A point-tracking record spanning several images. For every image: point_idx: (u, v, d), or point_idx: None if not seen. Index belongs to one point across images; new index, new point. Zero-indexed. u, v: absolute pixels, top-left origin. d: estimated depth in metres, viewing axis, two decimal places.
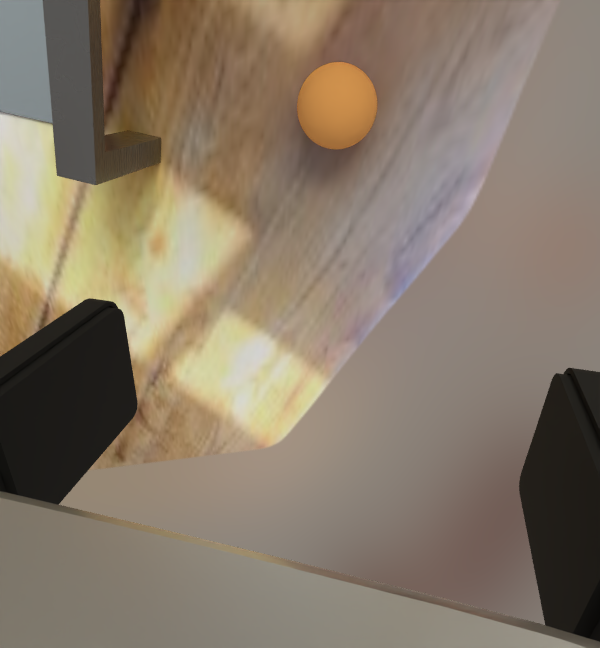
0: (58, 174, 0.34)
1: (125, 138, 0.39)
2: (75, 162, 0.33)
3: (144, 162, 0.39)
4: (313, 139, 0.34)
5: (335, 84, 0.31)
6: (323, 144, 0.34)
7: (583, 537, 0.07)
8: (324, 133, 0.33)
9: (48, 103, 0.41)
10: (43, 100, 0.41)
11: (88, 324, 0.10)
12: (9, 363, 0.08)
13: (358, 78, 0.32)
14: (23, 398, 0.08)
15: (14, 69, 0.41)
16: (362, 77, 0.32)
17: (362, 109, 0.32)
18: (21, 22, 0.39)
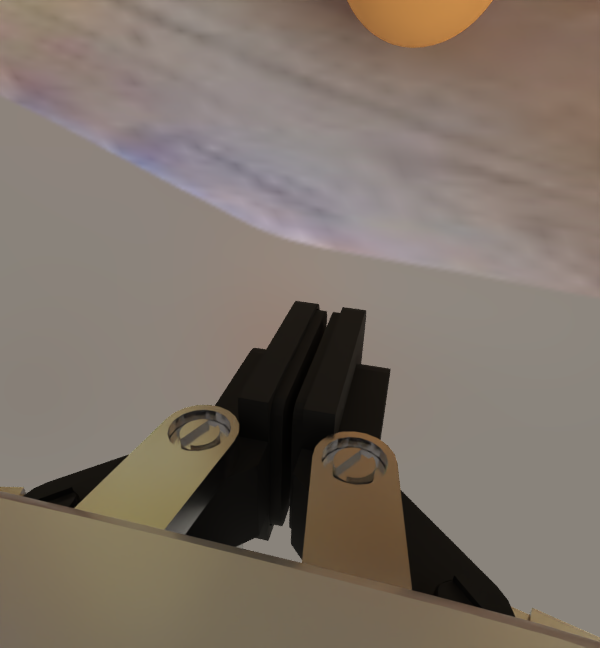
0: None
1: None
2: None
3: None
4: None
5: None
6: None
7: None
8: None
9: None
10: None
11: (312, 326, 0.10)
12: (274, 365, 0.09)
13: None
14: (292, 399, 0.08)
15: None
16: None
17: (423, 17, 0.15)
18: None
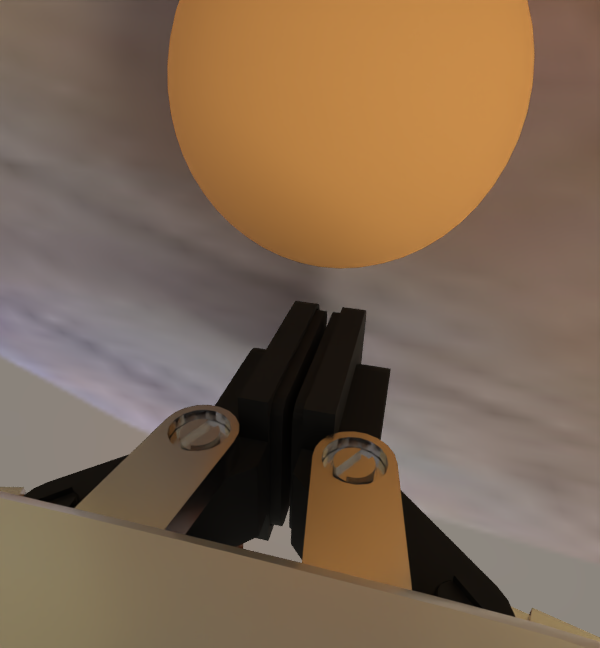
0: None
1: None
2: None
3: None
4: (178, 8, 0.07)
5: (441, 115, 0.06)
6: (168, 71, 0.07)
7: None
8: (196, 87, 0.06)
9: None
10: None
11: (312, 326, 0.10)
12: (274, 365, 0.09)
13: (464, 207, 0.07)
14: (292, 399, 0.08)
15: None
16: (464, 215, 0.07)
17: (334, 253, 0.07)
18: None
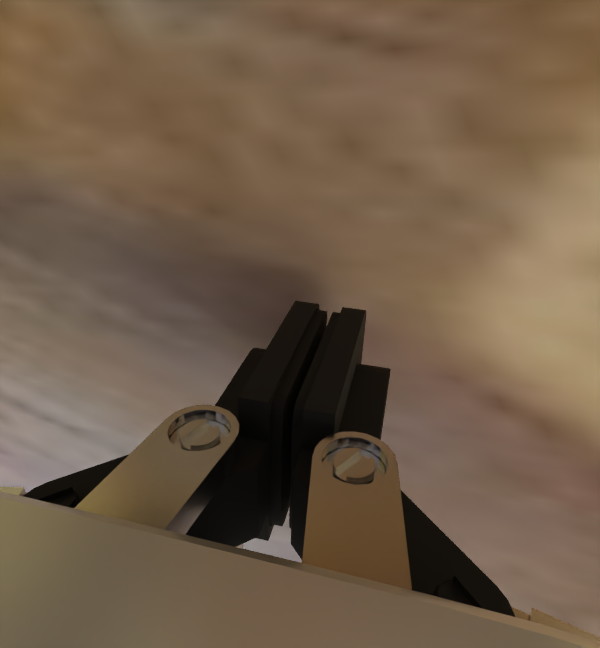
0: None
1: None
2: None
3: None
4: None
5: None
6: None
7: None
8: None
9: None
10: None
11: (312, 326, 0.10)
12: (274, 364, 0.09)
13: None
14: (292, 399, 0.08)
15: None
16: None
17: None
18: None
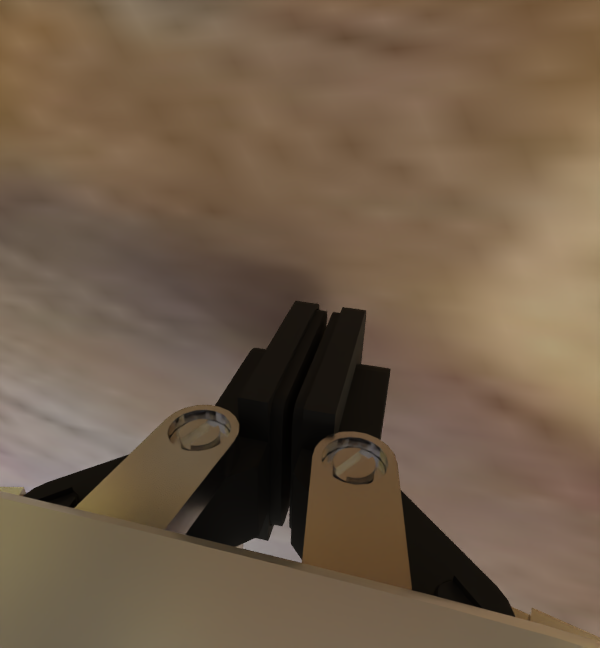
0: None
1: None
2: None
3: None
4: None
5: None
6: None
7: None
8: None
9: None
10: None
11: (312, 326, 0.10)
12: (274, 364, 0.09)
13: None
14: (292, 399, 0.08)
15: None
16: None
17: None
18: None
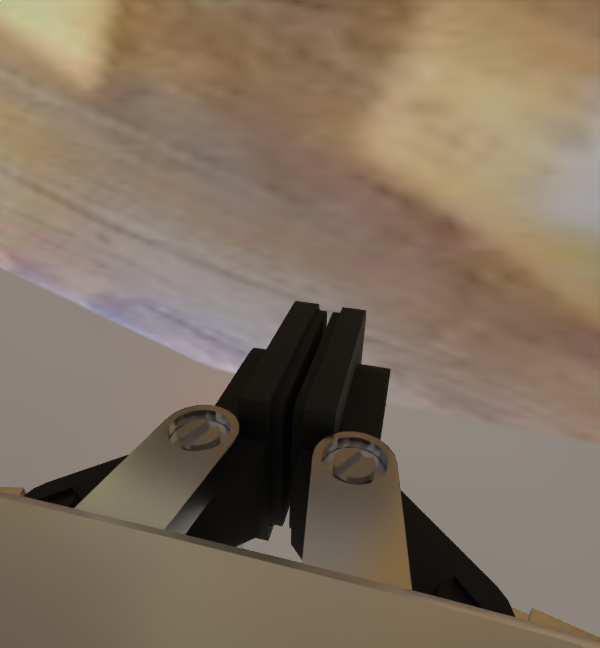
0: None
1: None
2: None
3: None
4: None
5: None
6: None
7: None
8: None
9: None
10: None
11: (312, 326, 0.10)
12: (274, 364, 0.09)
13: None
14: (292, 399, 0.08)
15: None
16: None
17: None
18: None
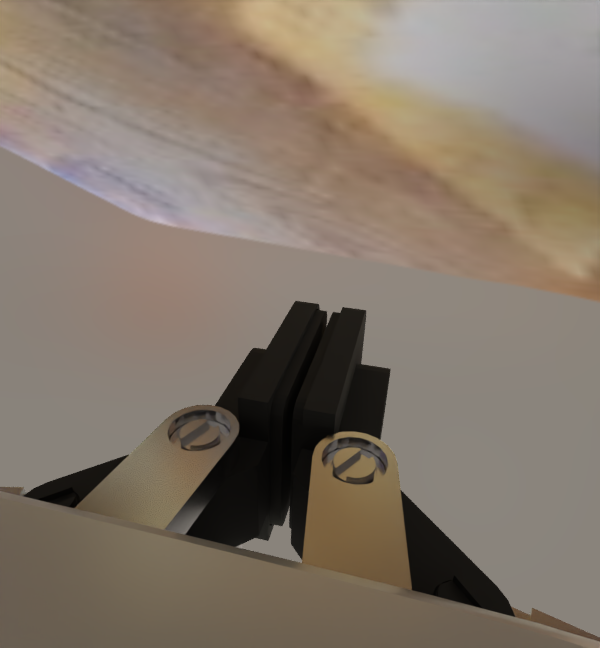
0: None
1: None
2: None
3: None
4: None
5: None
6: None
7: None
8: None
9: None
10: None
11: (312, 326, 0.10)
12: (274, 365, 0.09)
13: None
14: (292, 399, 0.08)
15: None
16: None
17: None
18: None
